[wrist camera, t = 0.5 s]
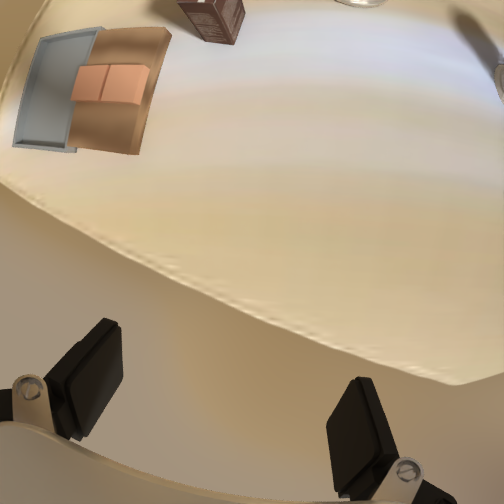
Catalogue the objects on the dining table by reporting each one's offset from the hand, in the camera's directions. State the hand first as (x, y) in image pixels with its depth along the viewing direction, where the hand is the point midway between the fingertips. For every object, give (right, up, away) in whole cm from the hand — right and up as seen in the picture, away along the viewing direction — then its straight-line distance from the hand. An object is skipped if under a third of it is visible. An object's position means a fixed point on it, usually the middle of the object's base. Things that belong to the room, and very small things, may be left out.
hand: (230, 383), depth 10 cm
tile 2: (-15, +26, +20) cm, 36 cm away
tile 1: (-20, +28, +20) cm, 39 cm away
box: (-3, +35, +19) cm, 40 cm away
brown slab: (-18, +28, +22) cm, 40 cm away
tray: (-30, +31, +22) cm, 49 cm away
